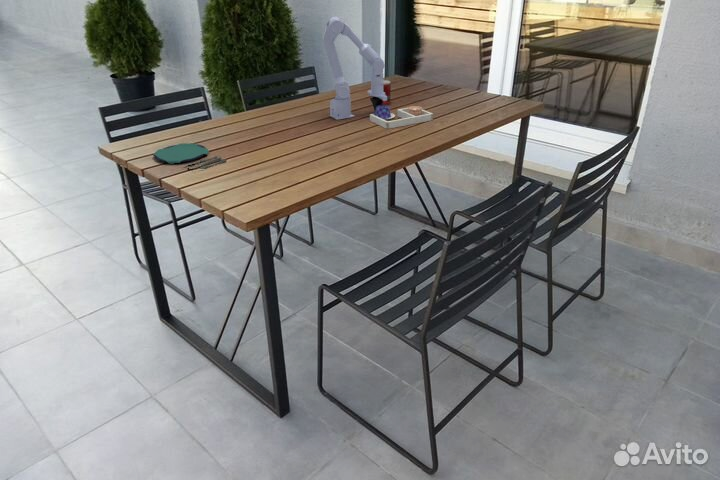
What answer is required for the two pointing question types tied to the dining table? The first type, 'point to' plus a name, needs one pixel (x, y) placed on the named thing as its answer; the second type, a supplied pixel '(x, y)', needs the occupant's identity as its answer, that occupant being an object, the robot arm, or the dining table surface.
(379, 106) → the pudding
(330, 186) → the dining table surface
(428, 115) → the serving frame
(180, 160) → the cutlery set
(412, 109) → the ramekin
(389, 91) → the canned food
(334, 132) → the dining table surface
